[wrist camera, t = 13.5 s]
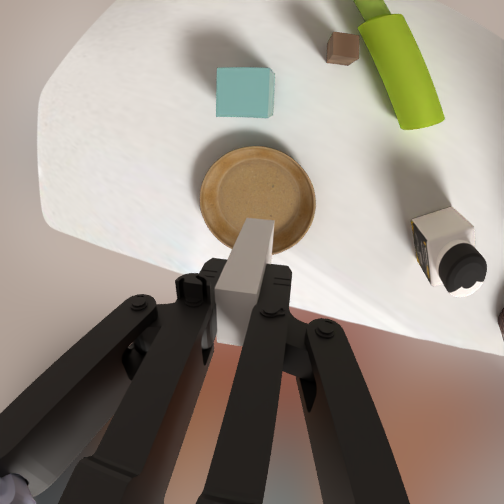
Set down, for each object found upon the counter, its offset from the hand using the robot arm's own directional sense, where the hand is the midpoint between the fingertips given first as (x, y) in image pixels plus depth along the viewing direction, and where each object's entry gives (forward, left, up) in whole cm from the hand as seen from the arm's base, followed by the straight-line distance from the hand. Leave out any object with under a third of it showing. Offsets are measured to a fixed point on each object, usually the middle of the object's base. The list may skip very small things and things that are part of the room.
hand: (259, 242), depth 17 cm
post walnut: (-6, -14, -23) cm, 28 cm away
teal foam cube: (+4, -8, -22) cm, 24 cm away
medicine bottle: (-23, +8, -23) cm, 34 cm away
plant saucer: (+3, +6, -24) cm, 24 cm away
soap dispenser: (-16, -7, -20) cm, 27 cm away
